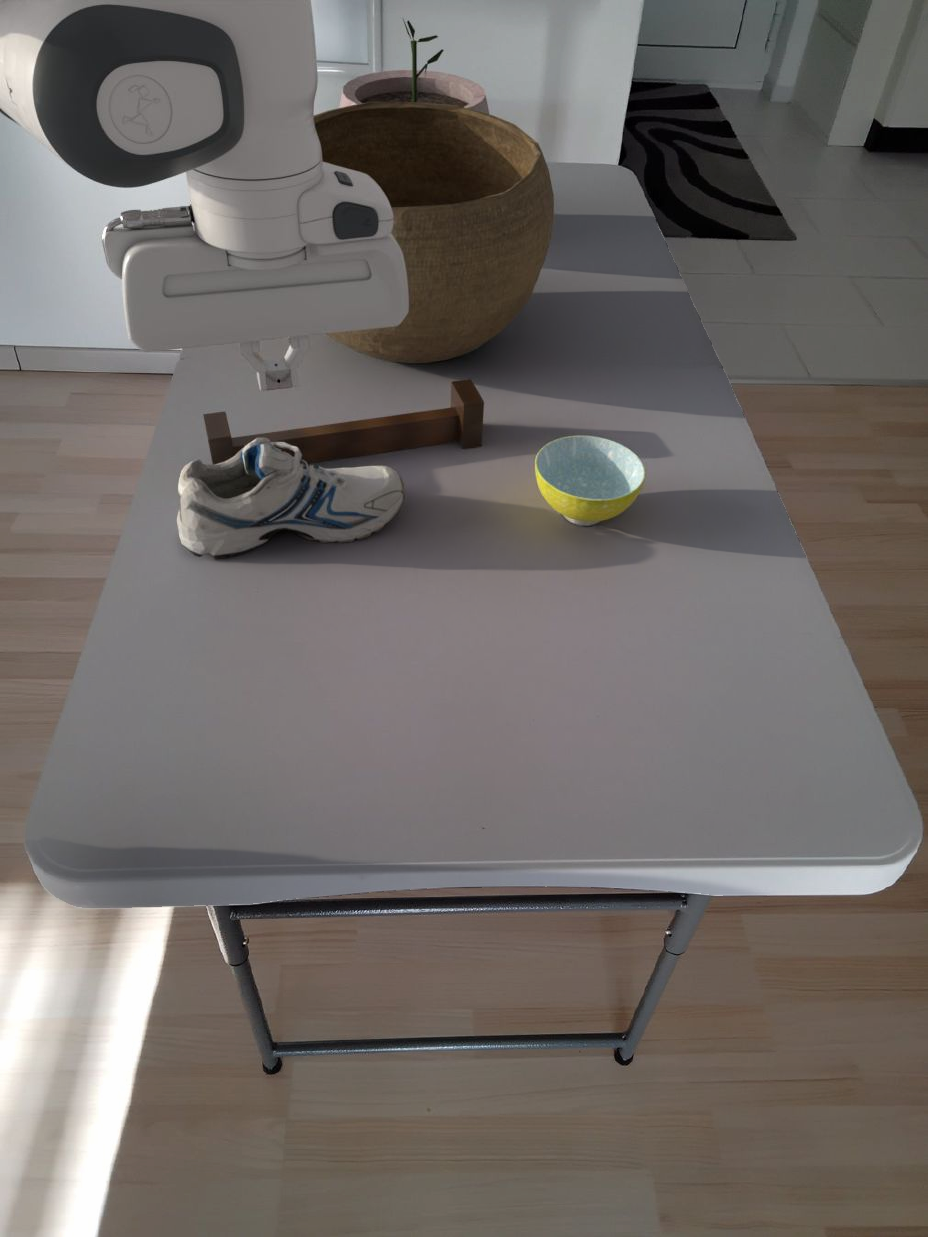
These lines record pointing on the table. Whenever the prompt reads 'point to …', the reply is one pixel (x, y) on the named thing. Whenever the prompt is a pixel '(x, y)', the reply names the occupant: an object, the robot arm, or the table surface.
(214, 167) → the robot arm
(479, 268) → the basket
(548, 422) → the table surface
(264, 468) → the athletic shoe
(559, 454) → the bowl
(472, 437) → the wooden rail
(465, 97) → the plant pot
